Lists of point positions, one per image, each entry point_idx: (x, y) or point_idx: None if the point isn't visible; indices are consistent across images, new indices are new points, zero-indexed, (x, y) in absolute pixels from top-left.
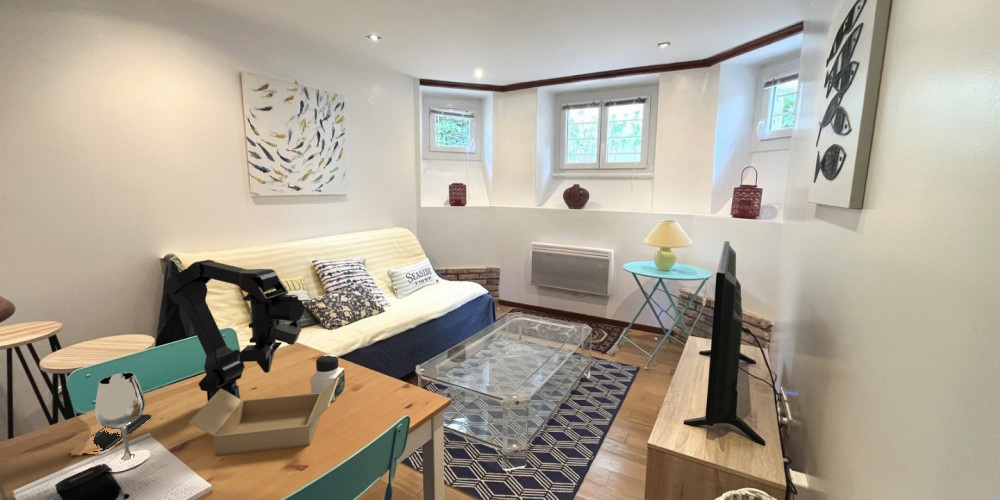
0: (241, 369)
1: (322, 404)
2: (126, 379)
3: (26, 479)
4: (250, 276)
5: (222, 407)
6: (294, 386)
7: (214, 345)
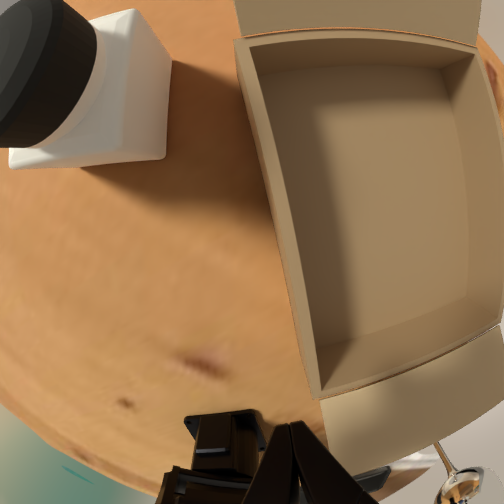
0: (196, 500)
1: None
2: None
3: (416, 474)
4: None
5: (414, 405)
6: (79, 291)
7: None
